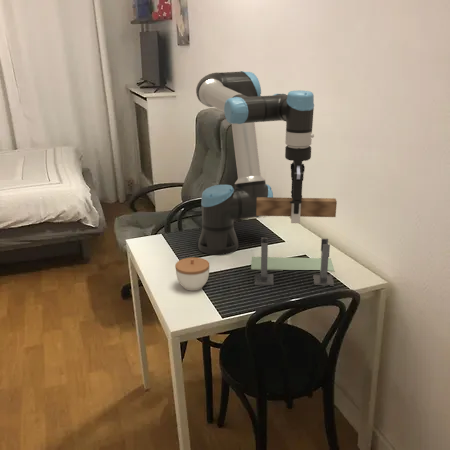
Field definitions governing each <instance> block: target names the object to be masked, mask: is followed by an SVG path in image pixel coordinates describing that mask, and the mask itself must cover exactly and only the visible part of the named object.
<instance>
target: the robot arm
mask: <svg viewBox="0 0 450 450" xmlns="http://www.w3.org/2000/svg"><path fill="white" fill-rule="evenodd" d="M195 93H196V97H197V99H198V101H199V102H200V103H201V104H202V105H204V106H206V107H209V108H215V109H217V110H219V111H221V112H222V113H224V117H225V119H226V122H227V123H229V124H231V129H232V138H233V139H232V140H233V149H234V155H235V156H234V157H235V163H236V165H235V166H236V172H237V180H236V181H235V182H234V186H232V185H230V184H215V185H212V186H209V187H207V188H205V189H204V190H203V191H202V193H201V200H200V201H201V202H200V205H201V218H202V219H201V220H202V221H201V227H202V229H201V232H200V236H199V238H198V244H197V245H198V250H199V251H200V252H202V253H204V254H207V255H210V256H211V255H212V256H223V255H229V254H233V253H234V252H236V251H237V250H238V248H239V239H238V237H237V234H236V231H235V228H234V223H235V222H234V221H235V220H236V221H237V220H243V219H250V218H259V217H260V216H256V205H257V197H274V193H273V190H272V186H270V185H269V184H267V183H266V179H265V178H264V177H263V176H262V175H261V169H260V168H261V167H260V159H259V157H260V156H259V151H258V142H257V133H256V124H255V123H260V122H261V123H262V122H263V123H265V122H277V121H278V122H279V121H283V122H286V123H285V124H286V125H285V126H286V127H285V128H286V129H285V141H284V142H285V145H286V146H285V154H284V157H285V159H286V160H287V161H290V162H291V161H293V162H291V163H290V177H291V191H290V193H291V195H290V198H293V200H292V201H290V203H292V209H291V216H290V224H301V217H300V213H301V202H302V201H301V198H303V181H304V176H305V175H304V173H305V168H306V166H305V163H303V162H304V161H305V162H306V161H309V160H311V158H312V147H311V145H312V139H313V138H314V137H315V134H313V125H314V124H313V123H314V110H315V108H314V107H315V104H314V103H315V102H314V97H315V96H314V92H312V91H310V90H301V89H300V90H290V91H289V92H288V93H287V94H286V93H274V94H272V95H262V89H261V84H260V80H259V78H258V76H257V75H256V74H255V73H254V72H251V71H244V70H243V71H241V70H240V71H229V72H228V71H227V72H226V71H225V72H212V73H209V74H207V75H205V76H203V77H202V78H201V79H200V80H199V81H198V83H197V85H196V88H195Z"/></svg>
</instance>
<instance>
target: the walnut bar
mask: <svg viewBox="0 0 450 450" xmlns="http://www.w3.org/2000/svg"><path fill="white" fill-rule="evenodd" d="M292 200H293V198H292V197H274V196H273V197H257V205H256V216H259V217H291V209H292V203H290V201H292ZM301 201H302V202H301V213H300V218H302V217H303V218H304V217H307V218H312V217H313V218H337V217H336V216H337V215H336V214H337V202H338V201H337V199H336V198H335V197H333V198H325V197H320V198H319V197H302V198H301Z"/></svg>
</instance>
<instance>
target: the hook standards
mask: <svg viewBox="0 0 450 450" xmlns="http://www.w3.org/2000/svg"><path fill="white" fill-rule="evenodd" d="M320 241H321V242H320V244H321V245H320V252H321V253H320V258H321V268H320V271H319V274H313V276H312V279H314V280H313V284H315V285H330V286H334V287H335V282H334V279H333V275H330V274H329V275H328V272H327V271H328V258H330V248H331V244H330V243H329V239H328V238H321V239H320ZM260 245H261V247H260V250H261V251H260V257H261V270H260V273H255V274H254V285H255V286H274V273H268V270H267V260H268V257H269V256H268V252H269V251H268V250H269V249H268V248H269V238H268V237H261V244H260Z"/></svg>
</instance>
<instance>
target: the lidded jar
mask: <svg viewBox="0 0 450 450" xmlns="http://www.w3.org/2000/svg"><path fill="white" fill-rule="evenodd" d="M174 267H175V275H176V278H177V281H178V283H179V284H180V285H181V286H182V287H183V289H185V290H187V291H192V292H193V291H199V290H201V289H203V287H204V286H205V285H206V283H207V282H208V279H209V275H210V262H209V261H208V260H207V259H205V258H203V257H202V258H201V257H193V256H192V257H186V258H182V259H179V260H178V261H177V262H175V266H174Z"/></svg>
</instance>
